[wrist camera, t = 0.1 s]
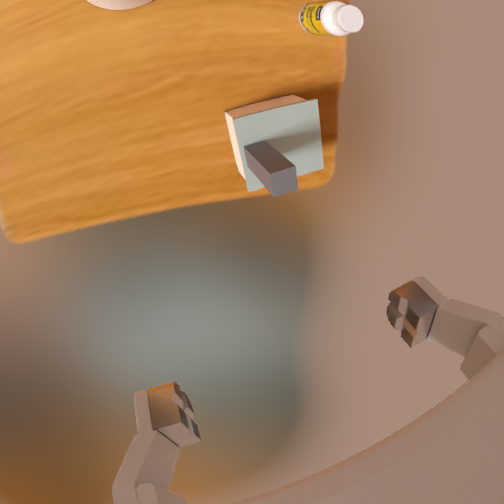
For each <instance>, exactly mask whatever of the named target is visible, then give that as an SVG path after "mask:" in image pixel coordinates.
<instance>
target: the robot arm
mask: <svg viewBox="0 0 504 504" xmlns="http://www.w3.org/2000/svg"><path fill="white" fill-rule="evenodd" d="M87 1H88V2H90V3H91V4H93V5H95V6H98V7H101V8H105V9H111V10H124V9H131V8H135V7H139V6H142V5H145V4H147V3H149V2H151V1H153V0H87ZM388 299H389V300H390V303H389V305H388V306H387V312H386V314H387V317H388V320H389V322H390V324H391V325H392V326H393V327H394V329H397V330H400V331H401V337H402V338H403V340H404V341H405V342H406V343H407V344H408V346H409V347H410V348H412V347H414V346H415V345H417V344H419V343H420V342H422V341H424V340H425V339H427V340H429V341H431V342H433V343H436V344H438V345H440V346H442V347H444V348H447V349H449V350H451V351H453V352H455V353H458V354H460V355H462V356H464V357H465V358H464V360H463V362H462V364H461V366H460V370H461V371H462V372H463V374H464V375H465V376H466V377H467V379H468V381H467V382H466V383H464V384H463V385H462V386H461V387H459V388H458V389H457V390H456V391H454V392H453V393H452V394H450V395H449V396H448V397H446V398H445V399H444V400H442V401H441V402H440V403H439V404H437V405H436V406H434V407H433V408H432V409H430V410H429V411H427V412H426V413H424V414H423V415H421V416H420V417H418V418H417V419H415V420H414V421H412V422H411V423H409V424H408V425H406V426H404V427H403V428H401V429H400V430H398V431H396V432H395V433H393V434H391V435H390V436H388V437H386V438H385V439H383V440H381V441H379V442H378V443H376V444H374V445H372V446H371V447H369V448H367V449H365V450H363V451H361V452H359V453H357V454H356V455H353V456H351V457H350V458H347V459H345V460H343V461H341V462H339V463H337V464H335V465H333V466H331V467H328V468H326V469H324V470H322V471H320V472H317V473H315V474H313V475H310V476H308V477H305V478H303V479H300V480H298V481H295V482H293V483H290V484H287V485H285V486H282V487H279V488H276V489H273V490H271V491H268V492H265V493H261V494H258V495H255V496H252V497H249V498H245V499H242V500H238V501H235V502H231V503H227V504H504V317H503V316H502V315H501V314H500V313H497V312H494V311H491V310H488V309H484V308H481V307H477V306H474V305H471V304H467V303H464V302H461V301H458V300H454V299H450V300H448V299H447V298H446V297H445V296H444V295H443V294H442V293H441V292H440V291H439V290H438V289H437V288H436V287H435V286H434V285H432V284H431V283H430V282H429V281H428V280H427V279H426V278H425V277H423V276H419V277H417V278H415V279H414V280H412V281H410V282H407V283H406V284H404V285H402V286H400V287H398V288H397V289H395V290H393V291H391V292H390V293H389V297H388ZM134 402H135V411H136V419H137V428H138V434H137V435H135V436H134V438H133V440H132V443H131V445H130V447H129V449H128V452H127V454H126V456H125V458H124V460H123V463H122V465H121V467H120V469H119V472H118V474H117V476H116V478H115V481H114V483H113V485H112V493H113V498H114V504H186V503H185V500H184V497H182V496H181V495H179V494H176V493H173V492H170V491H168V490H169V486H170V483H171V480H172V476H173V473H174V469H175V465H176V462H177V459H178V455H179V452H180V448H179V447H182V446H186V445H189V444H193V443H196V442H199V441H201V437H200V433H199V430H198V426H197V424H196V423H195V422H194V421H193V420H192V419H193V417H194V410H193V407H192V404H191V402H190V399H189V398H188V396H187V395H186V393H185V392H183V391H180V386H179V385H178V384H177V382H171V383H168V384H164V385H161V386H157V387H154V388H150V389H146V390H143V391H140V392H136V393H135V396H134Z"/></svg>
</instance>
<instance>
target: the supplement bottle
mask: <svg viewBox="0 0 504 504" xmlns="http://www.w3.org/2000/svg"><path fill="white" fill-rule="evenodd" d="M299 21H300V24H301V26H302V27H303V29H304V30H306V31H307V32H309V33H311V34H317V35H331V36H345V35H347V34H349V33H351V32H357V31H359V30H360V29H361V28H362V26H363V23H364V19H363V15H362V13H361V11H360V10H359V9H358V8H357V7H355V6H353V5H347V4H346V3H344V2H340V1H328V2H317V3H310V4H307V5H305V6H304V7H303V8H302V9H301V11H300V13H299Z"/></svg>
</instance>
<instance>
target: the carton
mask: <svg viewBox="0 0 504 504" xmlns="http://www.w3.org/2000/svg"><path fill="white" fill-rule="evenodd" d="M301 101H305V99H303V98H300V97H298V96H295V95H293V94H292V95H288V96H283V97H279V98H274V99H270V100H266V101H261V102H257V103H253V104H249V105H246V106H242V107H238V108H234V109H231V110H227V111H224V113H225V117H226V121H227V126H228V130H229V134H230V138H231V143H232V147H233V151H234V155H235V160H236V164H237V168H238V171H239V172H240V173H241V175H242V176H243V177H244V178H245V174H244V170H243V165H242V161H241V156H240V152H239V147H238V143H237V139H236V134H235V130H234V125H233V121H232V118H236V117H239V116H243V115H247V114H250V113H254V112H258V111H262V110H266V109H270V108H274V107H278V106H283V105H287V104H291V103H296V102H301ZM245 180H246V179H245Z"/></svg>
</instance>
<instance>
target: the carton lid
mask: <svg viewBox="0 0 504 504" xmlns="http://www.w3.org/2000/svg"><path fill="white" fill-rule="evenodd" d="M232 121H233V125H234V130H235V134H236V139H237V143H238V147H239V152H240V156H241V161H242V165H243V170H244V174H245V179H246V183H247V188H248V191H249V192H252V191H255V190H258V189H261V188H264V187H266V189H267V190H268V191H269V192H270V193H271V194H272V196H273V197H277V196H280V195H283V194H286V193H289V192H292V191H295V190H298V182H297V177H298V176H301V175H304V174H307V173H310V172H314V171H317V170H320V169H324V166H323V152H322V140H321V129H320V118H319V109H318V99H310V100H305V101H301V102H296V103H291V104H287V105H283V106H278V107H274V108H270V109H266V110H262V111H258V112H254V113H250V114H247V115H243V116H239V117H236V118H232Z"/></svg>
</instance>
